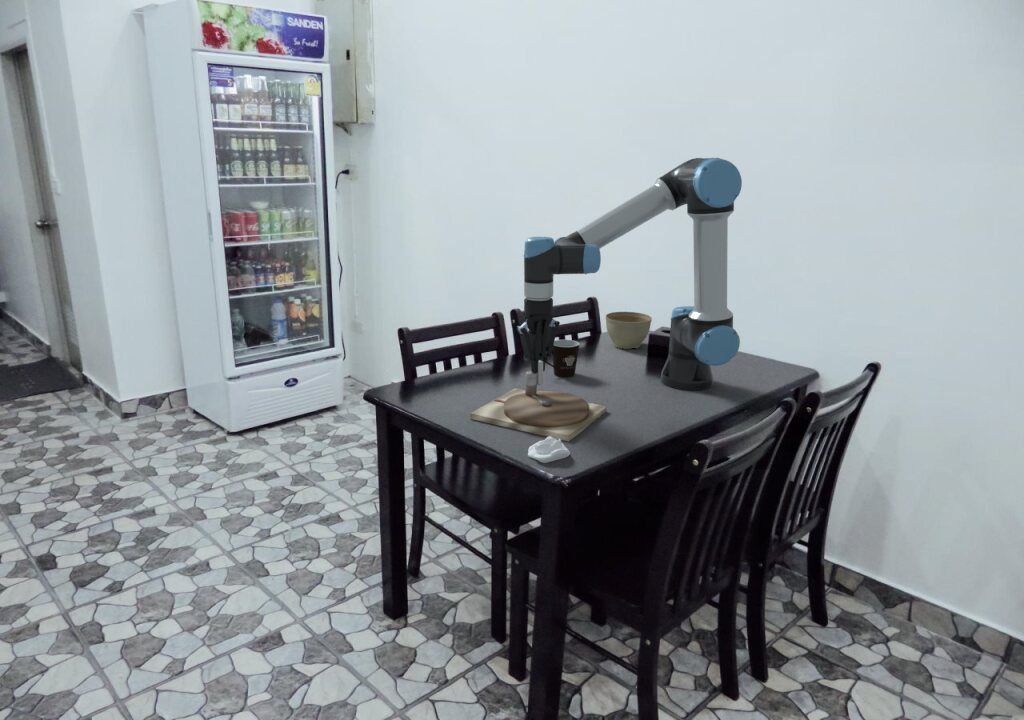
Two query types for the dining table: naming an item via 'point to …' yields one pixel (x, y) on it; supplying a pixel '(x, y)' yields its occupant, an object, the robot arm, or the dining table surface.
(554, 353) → the coffee mug
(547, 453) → the crumpled white cloth
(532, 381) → the wheel
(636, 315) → the planter bowl
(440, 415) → the dining table surface
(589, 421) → the dial board
